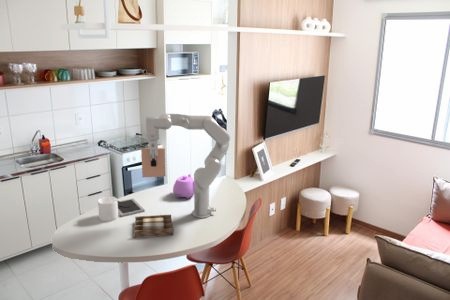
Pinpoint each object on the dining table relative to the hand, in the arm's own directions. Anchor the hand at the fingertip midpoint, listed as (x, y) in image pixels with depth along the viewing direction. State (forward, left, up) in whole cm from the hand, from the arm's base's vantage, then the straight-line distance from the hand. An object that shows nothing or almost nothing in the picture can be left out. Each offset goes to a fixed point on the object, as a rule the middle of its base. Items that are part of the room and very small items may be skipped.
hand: (153, 165), depth 241 cm
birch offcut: (+1, +15, -35) cm, 38 cm away
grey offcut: (+1, +21, -35) cm, 41 cm away
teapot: (-24, -32, -35) cm, 53 cm away
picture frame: (+18, -14, -36) cm, 43 cm away
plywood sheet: (0, 0, -7) cm, 7 cm away
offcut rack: (+1, +16, -35) cm, 38 cm away
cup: (+29, -3, -35) cm, 46 cm away
